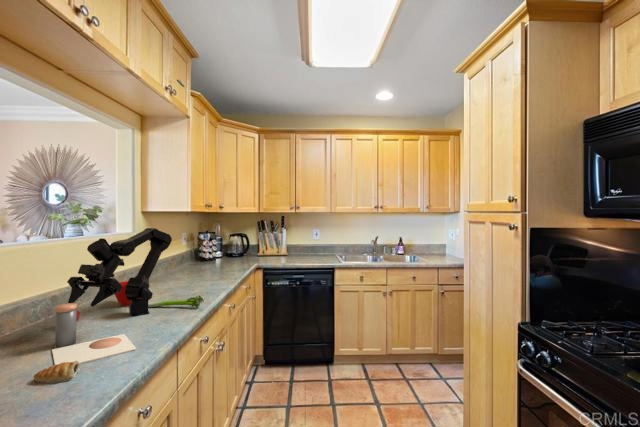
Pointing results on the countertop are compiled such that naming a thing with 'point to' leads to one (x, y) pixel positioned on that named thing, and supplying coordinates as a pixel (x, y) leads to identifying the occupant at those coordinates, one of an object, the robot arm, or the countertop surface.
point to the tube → (65, 324)
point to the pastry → (58, 372)
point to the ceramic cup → (123, 295)
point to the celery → (178, 302)
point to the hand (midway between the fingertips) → (80, 305)
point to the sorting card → (93, 350)
